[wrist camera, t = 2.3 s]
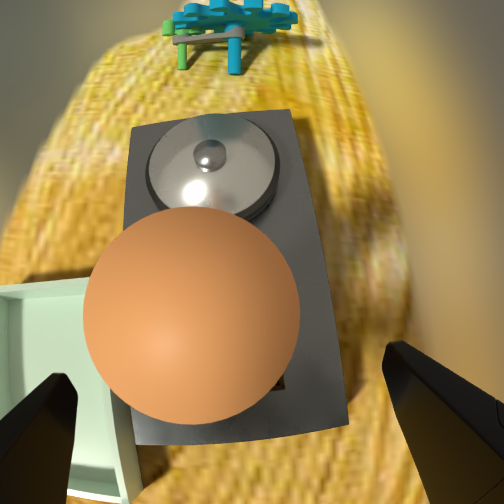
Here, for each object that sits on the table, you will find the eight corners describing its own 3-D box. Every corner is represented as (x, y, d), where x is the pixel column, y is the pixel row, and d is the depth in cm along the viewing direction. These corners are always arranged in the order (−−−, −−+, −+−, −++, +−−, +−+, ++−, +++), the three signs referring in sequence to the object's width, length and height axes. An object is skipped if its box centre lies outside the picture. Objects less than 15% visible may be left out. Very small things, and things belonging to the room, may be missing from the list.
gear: (300, 22, 24) (292, -15, 15) (300, 79, 27) (293, 65, 18) (187, 28, 26) (137, 4, 17) (186, 82, 29) (135, 76, 20)
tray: (143, 489, 14) (129, 504, 11) (23, 468, 13) (1, 475, 11) (122, 287, 18) (104, 275, 15) (9, 296, 17) (-13, 287, 15)
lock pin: (266, 375, 16) (313, 411, 4) (205, 381, 16) (90, 422, 4) (258, 316, 17) (281, 195, 5) (199, 322, 17) (86, 220, 5)
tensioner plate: (335, 416, 15) (363, 432, 11) (150, 434, 15) (119, 455, 11) (286, 133, 21) (293, 85, 17) (141, 150, 21) (122, 105, 17)
